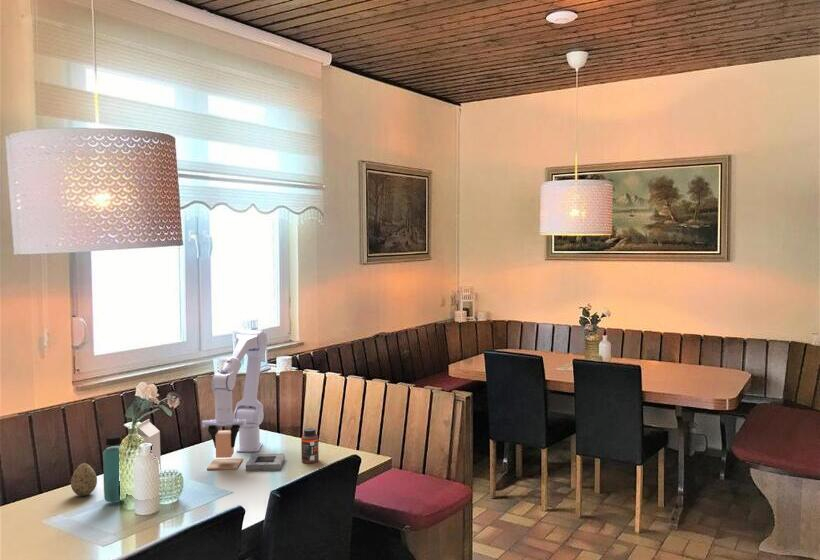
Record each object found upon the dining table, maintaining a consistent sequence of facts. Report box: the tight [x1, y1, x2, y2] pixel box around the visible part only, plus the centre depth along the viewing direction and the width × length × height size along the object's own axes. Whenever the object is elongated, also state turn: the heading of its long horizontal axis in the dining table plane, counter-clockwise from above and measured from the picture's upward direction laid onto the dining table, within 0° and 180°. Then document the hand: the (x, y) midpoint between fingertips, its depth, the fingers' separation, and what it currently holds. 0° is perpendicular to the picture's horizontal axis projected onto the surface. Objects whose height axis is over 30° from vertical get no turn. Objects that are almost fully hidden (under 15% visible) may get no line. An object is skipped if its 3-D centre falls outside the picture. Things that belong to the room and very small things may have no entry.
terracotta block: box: [215, 429, 235, 459], centre depth 231 cm, size 5×5×8 cm
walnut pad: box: [206, 458, 244, 471], centre depth 231 cm, size 10×10×1 cm
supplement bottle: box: [300, 427, 320, 464], centre depth 235 cm, size 6×6×11 cm
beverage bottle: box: [102, 434, 122, 503], centre depth 198 cm, size 6×7×20 cm
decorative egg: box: [70, 462, 98, 497], centre depth 204 cm, size 7×7×10 cm
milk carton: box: [138, 418, 162, 471], centre depth 218 cm, size 7×7×19 cm
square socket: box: [245, 453, 286, 472], centre depth 231 cm, size 12×12×2 cm
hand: (224, 446), depth 231 cm, fingers closed on terracotta block, 5 cm apart
